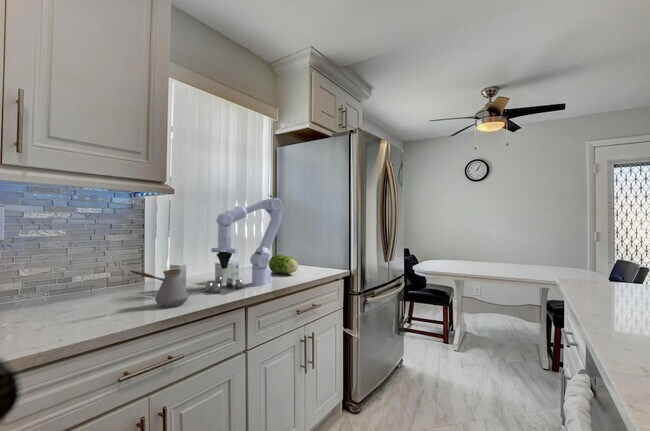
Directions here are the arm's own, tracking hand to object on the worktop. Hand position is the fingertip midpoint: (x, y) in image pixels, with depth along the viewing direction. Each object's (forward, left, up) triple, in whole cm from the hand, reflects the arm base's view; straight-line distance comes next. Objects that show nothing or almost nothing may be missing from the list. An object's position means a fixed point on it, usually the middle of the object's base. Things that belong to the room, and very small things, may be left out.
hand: (224, 268), depth 145 cm
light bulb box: (-14, -11, -10) cm, 21 cm away
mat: (+2, 0, -10) cm, 10 cm away
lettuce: (-49, +1, -10) cm, 50 cm away
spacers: (+2, 0, -9) cm, 10 cm away
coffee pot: (+33, +1, -10) cm, 35 cm away
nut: (+2, -7, -9) cm, 12 cm away
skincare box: (+10, -18, -10) cm, 23 cm away
